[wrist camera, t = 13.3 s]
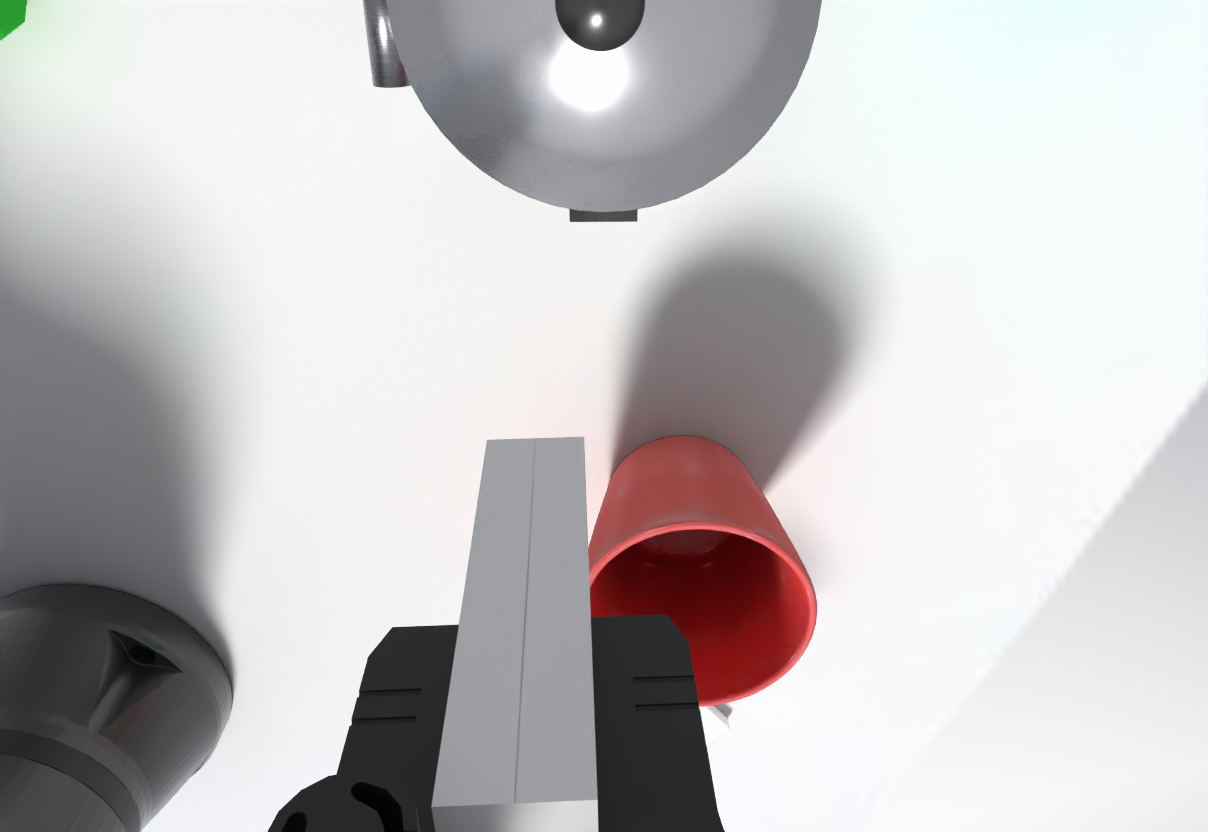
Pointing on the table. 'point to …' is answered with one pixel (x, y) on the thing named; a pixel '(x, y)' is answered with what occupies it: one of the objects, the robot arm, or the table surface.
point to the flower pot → (703, 564)
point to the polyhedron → (11, 15)
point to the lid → (596, 87)
